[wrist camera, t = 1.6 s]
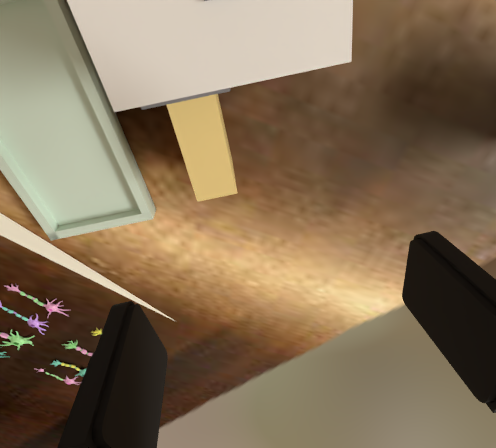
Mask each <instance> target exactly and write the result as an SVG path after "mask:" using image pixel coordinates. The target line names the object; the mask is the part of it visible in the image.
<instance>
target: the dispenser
mask: <svg viewBox="0 0 496 448" xmlns="http://www.w3.org/2000/svg"><path fill="white" fill-rule="evenodd" d="M67 2H68V4H69V6H70V9H71V11H72V14H73V16H74V18H75V21H76V23H77V25H78V28H79V30H80V32H81V35H82V37H83V39H84V42H85V44H86V47H87V49H88V51H89V54H90V56H91V58H92V61H93V63H94V65H95V68H96V70H97V72H98V75H99V77H100V80H101V82H102V84H103V87H104V89H105V91H106V94H107V96H108V98H109V101H110V103H111V105H112V108H113V110H114V112H118V111H123V110H128V109H132V108H137V107H141V109H142V110H144V109H149V108H153V107H158V106H163V105H167V104H172V103H177V102H181V101H186V100H191V99H195V98H200V97H205V96H209V95H214V94H219V93H224V92H228V91H230V88H231V87H235V86H240V85H245V84H249V83H254V82H259V81H263V80H268V79H273V78H277V77H282V76H287V75H292V74H296V73H301V72H306V71H310V70H315V69H320V68H324V67H329V66H334V65H338V64H343V63H348V62H351V55H352V14H353V0H67Z"/></svg>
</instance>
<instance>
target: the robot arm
mask: <svg viewBox="0 0 496 448" xmlns="http://www.w3.org/2000/svg"><path fill="white" fill-rule="evenodd" d="M402 297H403V301H404V303H405V305H406V306H407V307H408V309H409V310H410V311H411V313H412V314H413V315H414V317H415V318H416V319H417V321H418V322H419V323H420V325H421V326H422V327H423V329H424V330H425V331H426V333H427V334H428V335H429V337H430V338H431V339H432V341H434V343H435V344H436V346H437V347H438V348H439V350H440V351H441V352H442V354H443V355H444V356H445V358H446V359H447V360H448V362H449V363H450V364H451V366H452V367H453V368H454V370H455V371H456V372H457V374H458V375H459V376H460V377H461V379H462V380H463V381H464V383H465V384H466V385H467V387H468V388H469V389H470V391H471V392H472V393H473V395H474V396H475V397H476V398H477V399H478V400H479V401H480V402H482V403H486V404H487V405H488V407H489V408H490V409H491V411H492V412H493V413H496V279H494V278H493V277H492V276H491V275H489V274H488V273H487V272H486V271H485V270H483V269H482V268H481V267H480V266H478V265H477V264H476V263H475V262H474V261H472V260H471V259H470V258H469V257H467V256H466V255H465V254H464V253H463V252H461V251H460V250H459V249H458V248H456V247H455V246H454V245H453V244H452V243H450V242H449V241H448V240H447V239H446V238H444V237H443V236H442V235H441V234H439V233H438V232H436V231H431V232H427V233H423V234H418V235H416V236H415V237H414V240H412V241H411V242H410V246H409V252H408V259H407V266H406V273H405V279H404V286H403V293H402ZM167 359H168V358H167V351H166V349H165V347H164V345H163V344H162V342H161V340H160V339H159V337H158V335H157V334H156V332H155V330H154V329H153V327H152V325H151V324H150V322H149V320H148V319H147V317H146V315H145V314H144V312H143V310H142V309H141V307H140V306H139V305H138V304H134V303H133V302H132V301H129V302H125V303H120V304H116V305H113V306H112V308H111V310H110V312H109V315H108V318H107V321H106V323H105V326H104V329H103V332H102V335H101V337H100V340H99V343H98V346H97V348H96V351H95V352H94V353H93V354H92V356H91V358H90V361H89V363H88V366H87V369H86V372H85V374H84V377H83V380H82V382H81V385H80V388H79V391H78V393H77V396H76V399H75V401H74V404H73V407H72V410H71V412H70V415H69V418H68V420H67V423H66V426H65V429H64V431H63V434H62V437H61V439H60V442H59V445H58V447H57V448H157V441H158V433H159V425H160V416H161V408H162V400H163V392H164V384H165V376H166V368H167Z"/></svg>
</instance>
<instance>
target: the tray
mask: <svg viewBox="0 0 496 448" xmlns="http://www.w3.org/2000/svg"><path fill="white" fill-rule="evenodd" d="M0 170H1V172H2V173H3V174H4V176H5V177H6V179H7V180H8V181H9V183H10V184H11V185H12V187H13V188H14V190H15V191H16V192H17V194H18V195H19V197H20V198H21V199H22V201H23V202H24V203H25V205H26V206H27V208H28V209H29V210H30V212H31V213H32V215H33V216H34V217H35V219H36V220H37V222H38V223H39V224H40V226H41V227H42V228H43V230H44V231H45V233H46V234H47V235H48V237H49V238H50V240H55V239H60V238H65V237H70V236H74V235H79V234H84V233H89V232H94V231H98V230H103V229H108V228H113V227H117V226H122V225H127V224H132V223H137V222H141V221H146V220H151V219H153V218H154V215H155V212H156V208H155V205H154V203H153V201H152V198H151V196H150V194H149V191H148V189H147V186H146V184H145V182H144V179H143V177H142V175H141V172H140V170H139V168H138V165H137V163H136V160H135V158H134V156H133V153H132V151H131V149H130V146H129V144H128V141H127V139H126V137H125V134H124V132H123V130H122V127H121V125H120V123H119V120H118V118H117V115H116V113H115V112H114V110H113V108H112V105H111V103H110V101H109V98H108V96H107V94H106V91H105V89H104V87H103V84H102V82H101V80H100V77H99V75H98V72H97V70H96V68H95V65H94V63H93V61H92V58H91V56H90V54H89V51H88V49H87V47H86V44H85V42H84V39H83V37H82V35H81V32H80V30H79V28H78V25H77V23H76V21H75V18H74V16H73V14H72V11H71V9H70V6H69V4H68V2H67V0H0Z"/></svg>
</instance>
